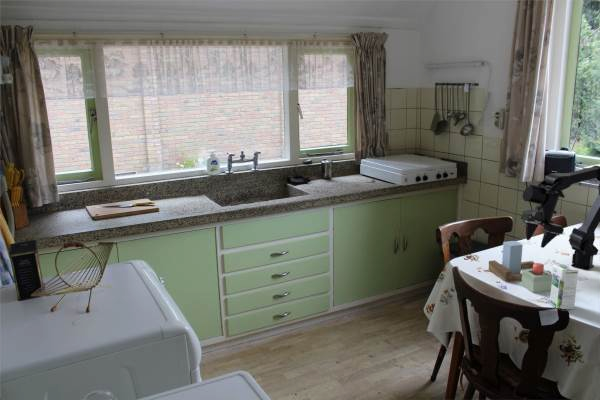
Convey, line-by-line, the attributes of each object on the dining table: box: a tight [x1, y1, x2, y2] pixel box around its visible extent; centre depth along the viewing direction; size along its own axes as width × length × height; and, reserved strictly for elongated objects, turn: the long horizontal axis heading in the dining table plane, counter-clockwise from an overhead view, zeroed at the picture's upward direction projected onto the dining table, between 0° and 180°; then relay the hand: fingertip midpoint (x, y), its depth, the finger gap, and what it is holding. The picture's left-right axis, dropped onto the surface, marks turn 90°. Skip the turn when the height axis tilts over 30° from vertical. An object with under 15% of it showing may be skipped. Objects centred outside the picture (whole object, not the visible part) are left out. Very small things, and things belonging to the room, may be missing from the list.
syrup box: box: [549, 263, 579, 310], centre depth 174 cm, size 6×6×14 cm
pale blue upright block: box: [501, 240, 523, 274], centre depth 202 cm, size 5×5×13 cm
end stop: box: [488, 260, 512, 283], centre depth 203 cm, size 2×12×4 cm, turn 10°
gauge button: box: [532, 262, 545, 274], centre depth 189 cm, size 4×4×3 cm
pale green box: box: [520, 268, 553, 294], centre depth 190 cm, size 8×7×6 cm
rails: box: [500, 260, 552, 282], centre depth 204 cm, size 17×12×2 cm
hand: (534, 243), depth 203 cm, fingers open, 9 cm apart
